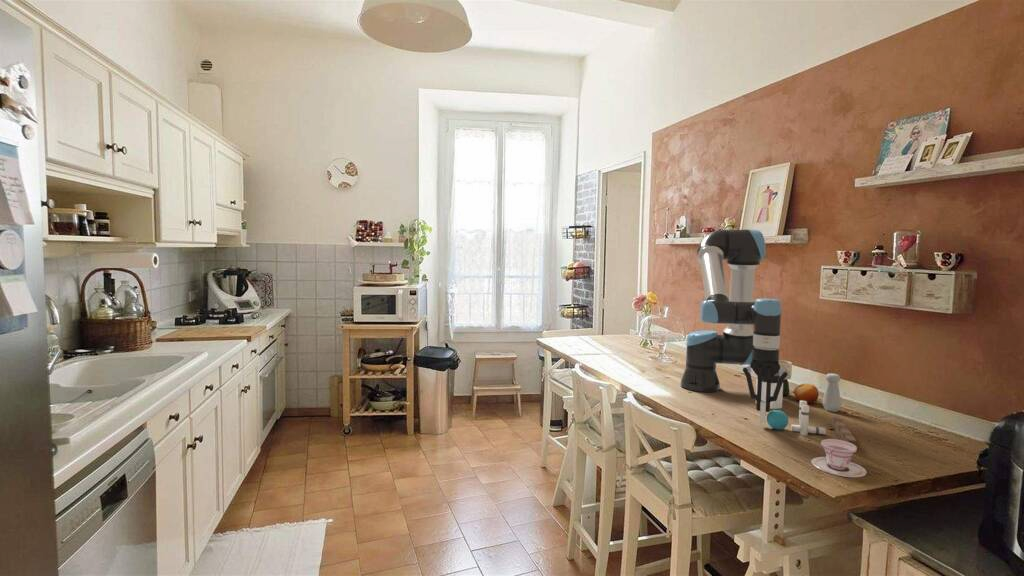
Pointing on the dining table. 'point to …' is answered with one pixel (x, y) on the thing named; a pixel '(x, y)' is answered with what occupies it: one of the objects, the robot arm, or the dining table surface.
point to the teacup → (838, 459)
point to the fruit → (806, 393)
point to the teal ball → (777, 419)
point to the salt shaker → (832, 393)
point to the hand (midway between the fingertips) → (762, 421)
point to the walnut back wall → (843, 430)
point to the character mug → (787, 367)
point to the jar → (774, 380)
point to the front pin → (809, 429)
